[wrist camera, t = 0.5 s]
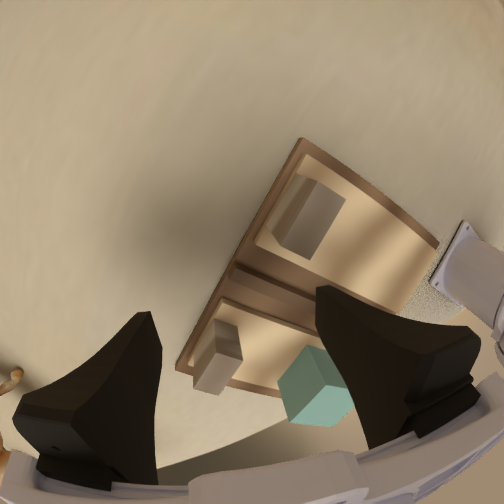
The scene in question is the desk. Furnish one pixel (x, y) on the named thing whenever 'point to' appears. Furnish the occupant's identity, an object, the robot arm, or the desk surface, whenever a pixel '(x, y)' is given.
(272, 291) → the lane board
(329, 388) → the teal cube
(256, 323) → the strip
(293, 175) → the empty strip
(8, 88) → the desk surface
